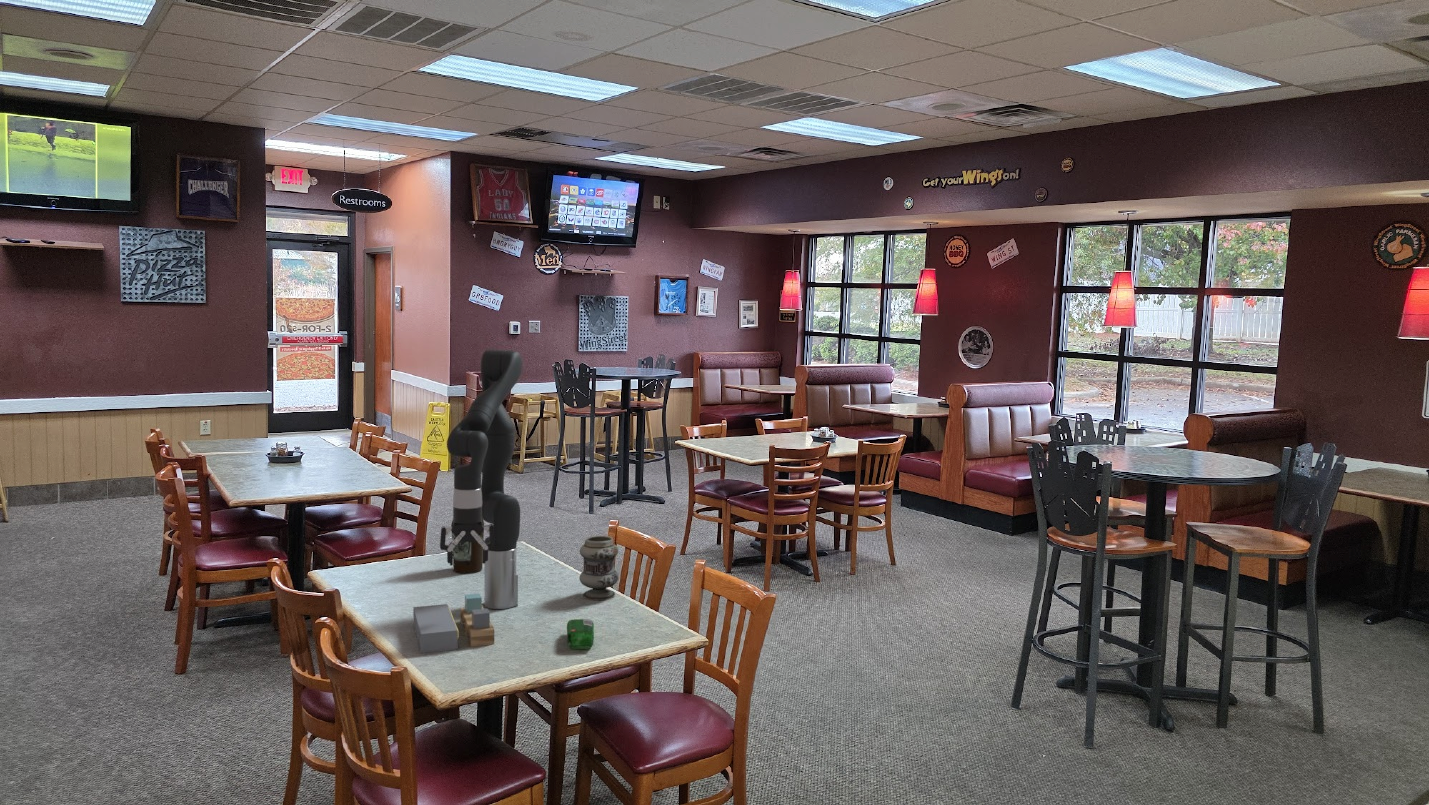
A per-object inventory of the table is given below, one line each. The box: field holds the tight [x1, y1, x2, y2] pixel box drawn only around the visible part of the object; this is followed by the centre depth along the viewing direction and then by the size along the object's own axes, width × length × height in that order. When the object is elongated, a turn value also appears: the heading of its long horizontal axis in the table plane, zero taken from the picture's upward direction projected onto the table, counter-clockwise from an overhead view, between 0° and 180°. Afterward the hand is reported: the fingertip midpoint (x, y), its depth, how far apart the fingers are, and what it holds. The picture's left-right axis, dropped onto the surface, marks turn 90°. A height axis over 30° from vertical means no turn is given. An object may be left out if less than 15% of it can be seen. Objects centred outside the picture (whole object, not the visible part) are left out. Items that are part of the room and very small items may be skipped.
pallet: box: [459, 605, 495, 647], centre depth 258 cm, size 21×6×4 cm, turn 22°
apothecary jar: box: [578, 535, 620, 601], centre depth 293 cm, size 12×12×18 cm
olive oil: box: [450, 519, 485, 574], centre depth 318 cm, size 11×11×25 cm
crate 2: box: [472, 607, 491, 629], centre depth 252 cm, size 4×4×4 cm
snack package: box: [566, 618, 595, 650], centre depth 253 cm, size 7×16×5 cm, turn 8°
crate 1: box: [464, 593, 483, 613], centre depth 265 cm, size 4×4×4 cm
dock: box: [412, 603, 460, 654], centre depth 254 cm, size 9×23×5 cm, turn 22°
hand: (467, 563), depth 257 cm, fingers open, 8 cm apart
